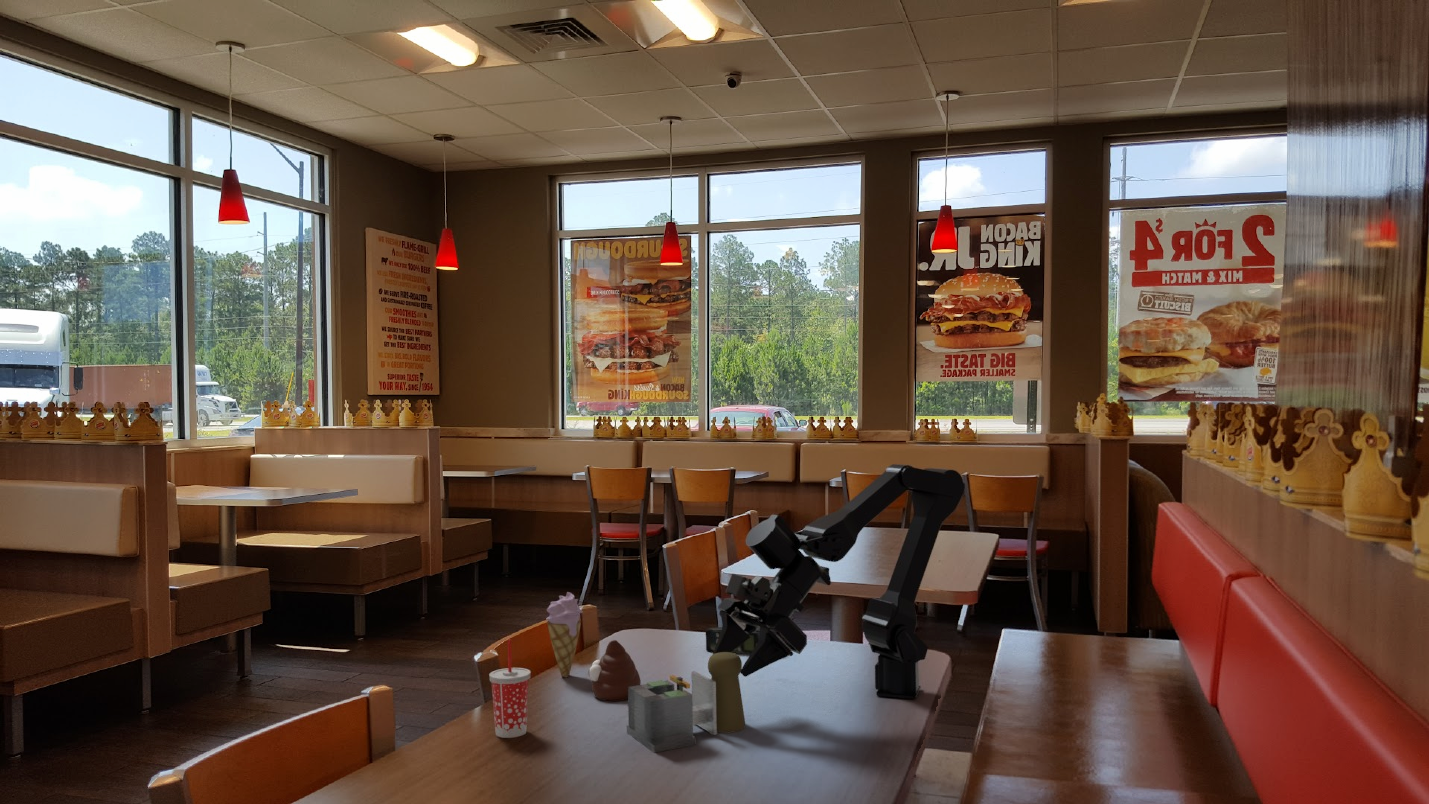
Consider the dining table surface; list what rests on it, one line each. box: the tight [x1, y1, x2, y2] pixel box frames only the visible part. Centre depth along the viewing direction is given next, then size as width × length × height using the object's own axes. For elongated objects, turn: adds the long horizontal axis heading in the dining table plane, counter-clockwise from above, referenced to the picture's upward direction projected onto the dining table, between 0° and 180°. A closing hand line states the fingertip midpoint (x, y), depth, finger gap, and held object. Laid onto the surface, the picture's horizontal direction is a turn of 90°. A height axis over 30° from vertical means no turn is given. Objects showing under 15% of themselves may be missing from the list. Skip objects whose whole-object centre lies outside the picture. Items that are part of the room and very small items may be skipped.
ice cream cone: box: [545, 591, 584, 678], centre depth 180 cm, size 7×6×15 cm
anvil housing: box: [626, 679, 697, 753], centre depth 145 cm, size 6×10×7 cm, turn 28°
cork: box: [707, 652, 746, 733], centre depth 150 cm, size 6×6×11 cm
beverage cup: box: [488, 638, 531, 739], centre depth 149 cm, size 6×6×14 cm
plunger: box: [669, 670, 718, 735], centre depth 148 cm, size 4×7×8 cm, turn 28°
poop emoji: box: [588, 639, 642, 702], centre depth 169 cm, size 10×8×9 cm
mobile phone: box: [705, 626, 760, 655], centre depth 195 cm, size 5×3×15 cm
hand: (727, 667), depth 151 cm, fingers open, 9 cm apart
